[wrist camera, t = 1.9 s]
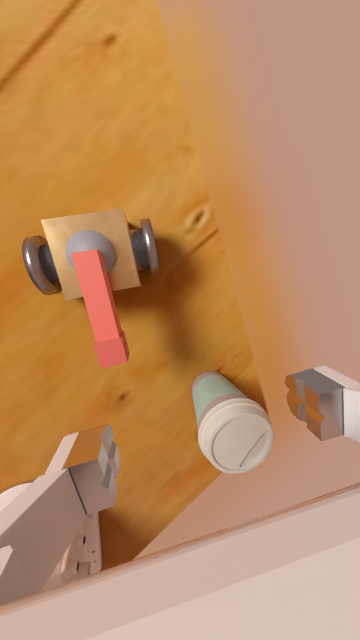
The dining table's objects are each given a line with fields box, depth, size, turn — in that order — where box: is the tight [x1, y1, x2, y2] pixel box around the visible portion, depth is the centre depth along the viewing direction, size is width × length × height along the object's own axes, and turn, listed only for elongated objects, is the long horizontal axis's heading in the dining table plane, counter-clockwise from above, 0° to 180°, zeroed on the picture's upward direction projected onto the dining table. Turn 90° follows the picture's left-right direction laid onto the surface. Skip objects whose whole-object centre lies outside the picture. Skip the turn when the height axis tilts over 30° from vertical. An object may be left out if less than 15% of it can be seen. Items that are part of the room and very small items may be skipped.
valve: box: [22, 208, 160, 300], centre depth 25 cm, size 8×13×6 cm, turn 100°
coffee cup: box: [192, 371, 274, 474], centre depth 29 cm, size 8×8×12 cm
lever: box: [66, 230, 129, 368], centre depth 21 cm, size 13×4×4 cm, turn 10°
